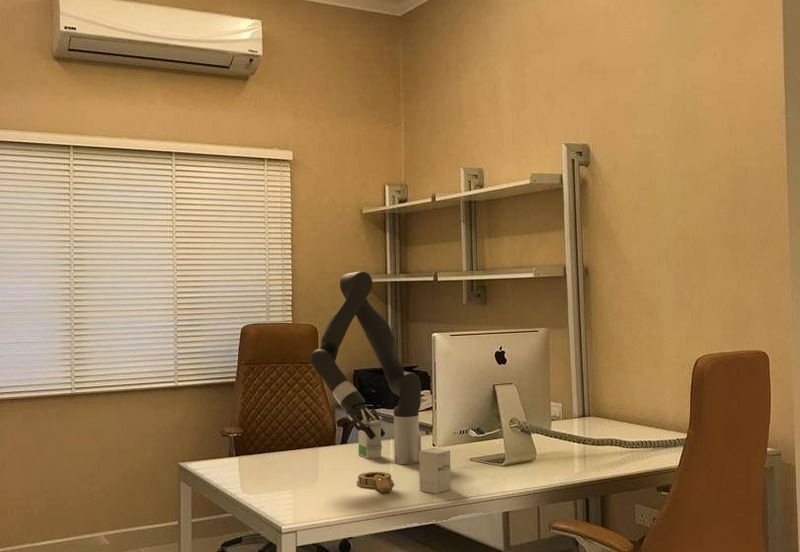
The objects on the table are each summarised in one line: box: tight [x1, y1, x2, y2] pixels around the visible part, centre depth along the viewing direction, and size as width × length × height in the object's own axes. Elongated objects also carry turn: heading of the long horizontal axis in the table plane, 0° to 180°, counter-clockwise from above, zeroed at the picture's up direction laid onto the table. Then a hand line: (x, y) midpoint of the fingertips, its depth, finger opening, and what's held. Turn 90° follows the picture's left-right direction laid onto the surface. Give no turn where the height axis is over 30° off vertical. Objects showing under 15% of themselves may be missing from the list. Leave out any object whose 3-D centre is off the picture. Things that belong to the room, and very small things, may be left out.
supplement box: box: [418, 447, 452, 494], centre depth 267 cm, size 7×7×13 cm
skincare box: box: [357, 416, 383, 459], centre depth 324 cm, size 8×7×16 cm
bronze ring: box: [356, 471, 394, 495], centre depth 272 cm, size 12×20×4 cm, turn 16°
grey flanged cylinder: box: [366, 420, 383, 450], centre depth 277 cm, size 5×5×9 cm
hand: (378, 436), depth 276 cm, fingers closed on grey flanged cylinder, 4 cm apart
